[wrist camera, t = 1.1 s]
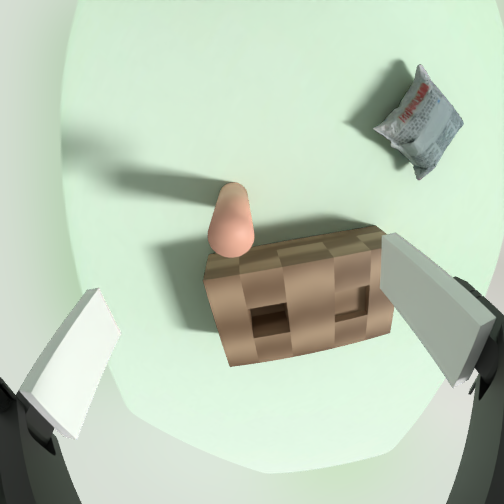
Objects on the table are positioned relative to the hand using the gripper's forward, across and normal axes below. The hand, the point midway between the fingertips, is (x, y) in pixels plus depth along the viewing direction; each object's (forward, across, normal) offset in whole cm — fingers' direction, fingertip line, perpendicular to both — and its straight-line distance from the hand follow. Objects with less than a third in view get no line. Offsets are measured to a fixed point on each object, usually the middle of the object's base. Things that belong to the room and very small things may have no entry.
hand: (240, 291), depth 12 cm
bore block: (+18, +5, -12) cm, 23 cm away
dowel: (+19, 0, 0) cm, 19 cm away
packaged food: (+19, +22, +6) cm, 30 cm away
